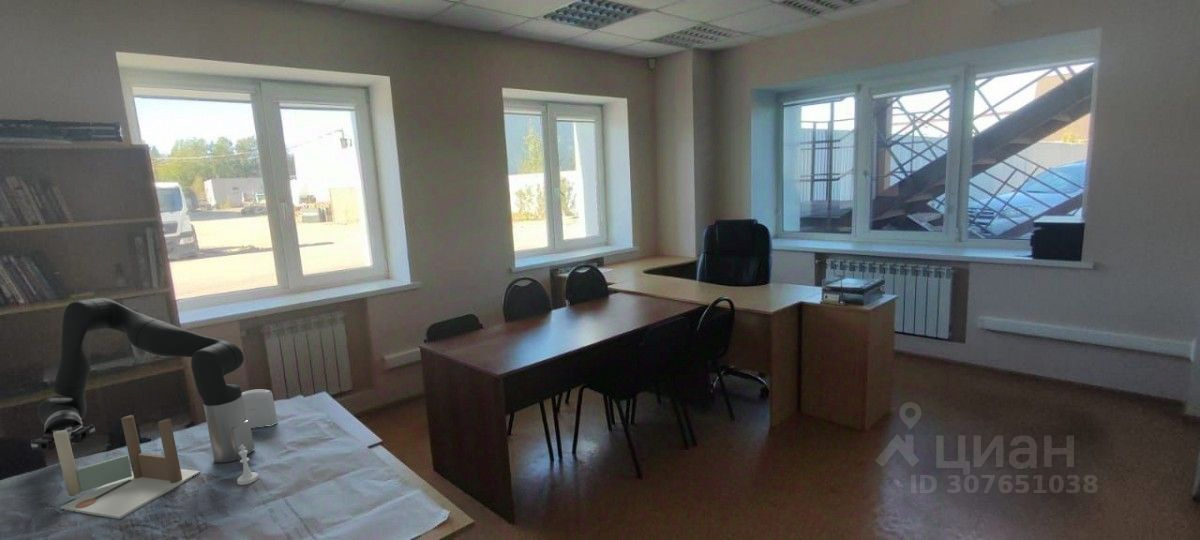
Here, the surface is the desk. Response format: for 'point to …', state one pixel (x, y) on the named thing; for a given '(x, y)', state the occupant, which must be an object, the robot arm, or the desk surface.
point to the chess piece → (246, 469)
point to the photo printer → (259, 407)
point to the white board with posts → (136, 477)
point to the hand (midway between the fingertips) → (64, 447)
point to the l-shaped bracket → (88, 468)
